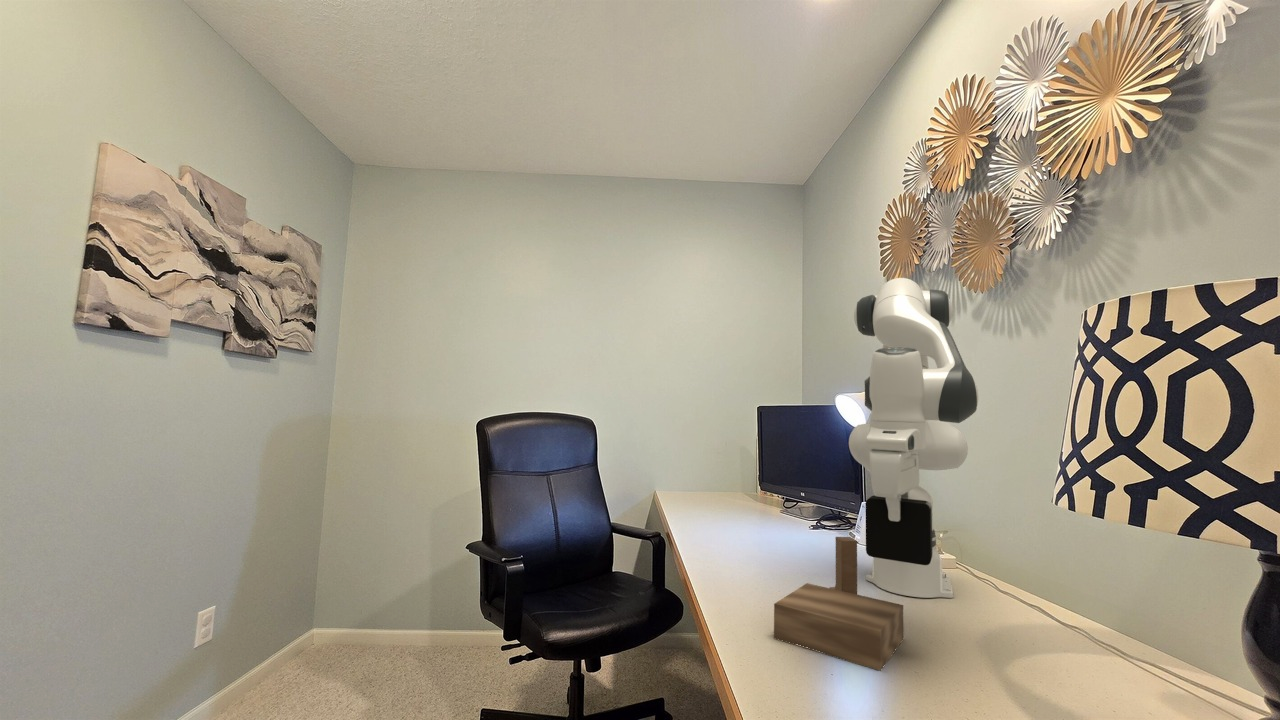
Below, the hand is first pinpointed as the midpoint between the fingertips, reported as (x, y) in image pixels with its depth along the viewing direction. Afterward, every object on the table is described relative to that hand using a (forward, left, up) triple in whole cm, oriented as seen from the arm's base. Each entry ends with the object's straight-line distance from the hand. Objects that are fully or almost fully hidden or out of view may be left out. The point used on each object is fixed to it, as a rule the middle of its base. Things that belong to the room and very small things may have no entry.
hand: (898, 518), depth 93 cm
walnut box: (0, -10, -23) cm, 25 cm away
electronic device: (0, 0, -7) cm, 7 cm away
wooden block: (-15, -14, -23) cm, 31 cm away
